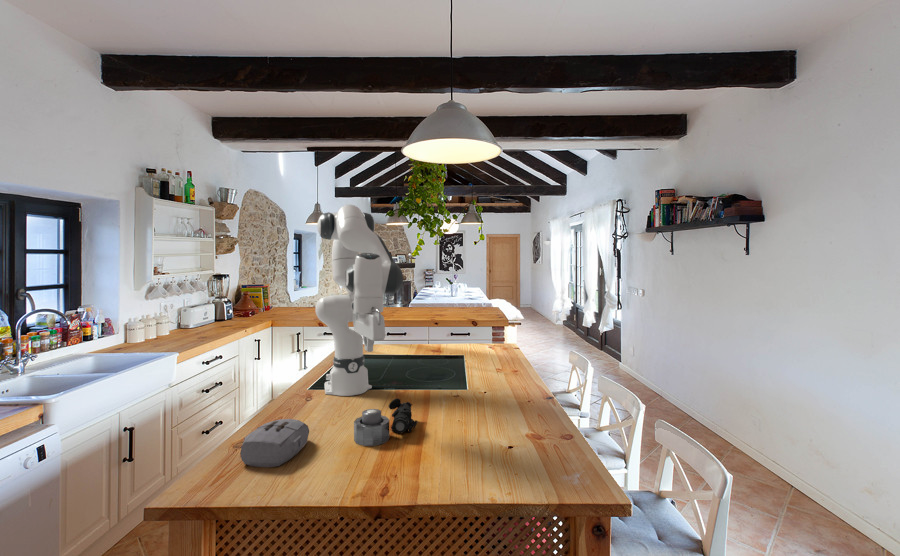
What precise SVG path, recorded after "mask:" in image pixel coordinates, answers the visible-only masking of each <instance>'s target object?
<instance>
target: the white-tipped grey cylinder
mask: <svg viewBox="0 0 900 556" xmlns="http://www.w3.org/2000/svg"><path fill="white" fill-rule="evenodd" d="M381 415H382V410H380V409H379V408H378V409H377V408H368V409H364V410H362V412H361V416H362V424H364V425H376V424H380V423H381Z"/></svg>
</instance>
